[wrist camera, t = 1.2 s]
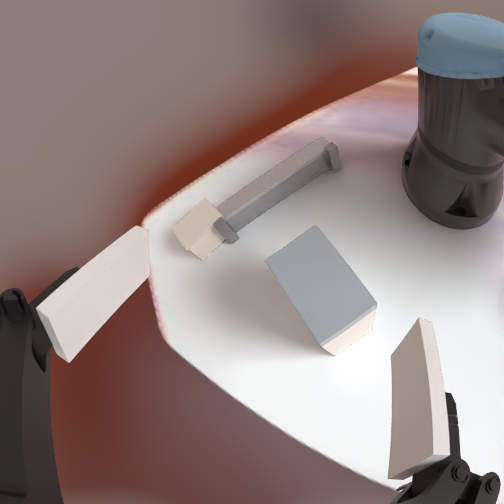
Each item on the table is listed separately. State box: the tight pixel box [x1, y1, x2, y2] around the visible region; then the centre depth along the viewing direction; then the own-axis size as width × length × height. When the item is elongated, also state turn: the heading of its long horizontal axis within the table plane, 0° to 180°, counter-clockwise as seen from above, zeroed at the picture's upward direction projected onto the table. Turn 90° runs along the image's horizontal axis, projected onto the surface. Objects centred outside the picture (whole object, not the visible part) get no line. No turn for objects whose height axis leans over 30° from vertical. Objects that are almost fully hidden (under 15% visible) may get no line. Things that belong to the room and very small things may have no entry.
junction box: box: [172, 198, 225, 260], centre depth 40 cm, size 6×4×5 cm
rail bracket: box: [213, 137, 342, 244], centre depth 39 cm, size 19×5×4 cm, turn 119°
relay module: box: [265, 225, 377, 356], centre depth 26 cm, size 5×8×12 cm, turn 29°
